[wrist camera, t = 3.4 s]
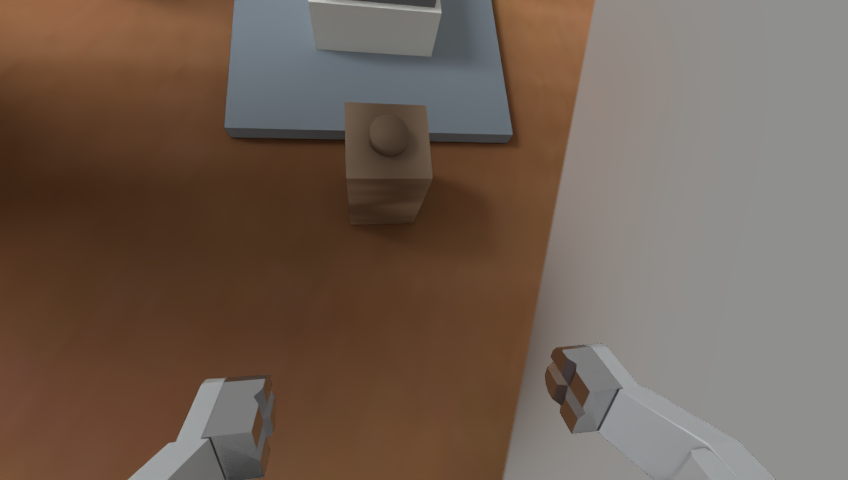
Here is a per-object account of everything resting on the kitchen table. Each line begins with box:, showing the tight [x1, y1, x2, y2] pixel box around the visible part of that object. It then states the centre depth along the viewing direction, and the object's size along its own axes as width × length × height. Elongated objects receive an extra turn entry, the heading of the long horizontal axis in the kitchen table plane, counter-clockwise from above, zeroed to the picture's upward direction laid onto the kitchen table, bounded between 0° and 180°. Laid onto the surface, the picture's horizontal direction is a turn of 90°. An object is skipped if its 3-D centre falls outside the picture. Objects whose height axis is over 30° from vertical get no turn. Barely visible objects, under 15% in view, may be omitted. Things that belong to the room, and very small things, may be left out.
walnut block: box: [344, 102, 433, 225], centre depth 22 cm, size 4×4×8 cm
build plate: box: [224, 0, 513, 143], centre depth 26 cm, size 21×19×7 cm
